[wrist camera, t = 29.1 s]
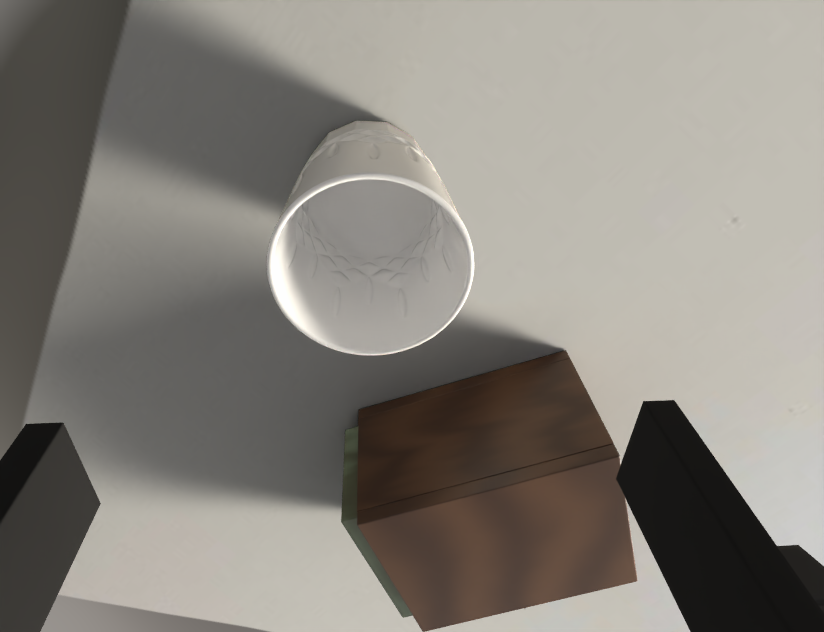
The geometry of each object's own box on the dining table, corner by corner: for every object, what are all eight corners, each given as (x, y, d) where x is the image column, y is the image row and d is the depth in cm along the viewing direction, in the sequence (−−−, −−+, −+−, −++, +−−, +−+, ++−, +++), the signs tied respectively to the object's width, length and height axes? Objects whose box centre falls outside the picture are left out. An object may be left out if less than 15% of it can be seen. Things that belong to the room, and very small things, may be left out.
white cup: (359, 71, 26) (357, 124, 18) (473, 176, 29) (516, 263, 21) (265, 191, 29) (224, 285, 20) (378, 275, 32) (383, 385, 24)
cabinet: (412, 516, 45) (422, 632, 37) (358, 409, 38) (356, 525, 30) (589, 470, 43) (638, 581, 35) (565, 350, 36) (620, 456, 28)
